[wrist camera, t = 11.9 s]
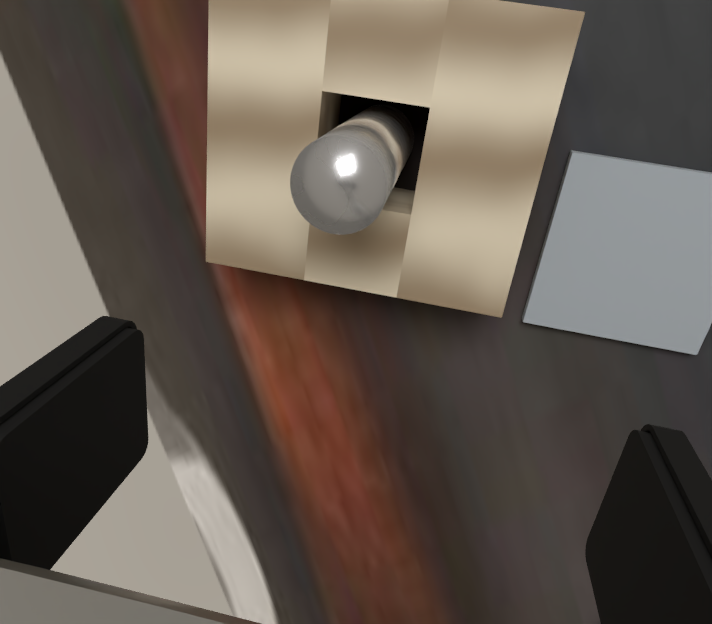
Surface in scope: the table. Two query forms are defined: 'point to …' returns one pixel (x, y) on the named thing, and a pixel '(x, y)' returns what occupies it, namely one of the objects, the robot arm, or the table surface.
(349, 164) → the peg
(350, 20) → the hole block
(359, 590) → the table surface
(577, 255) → the mat
